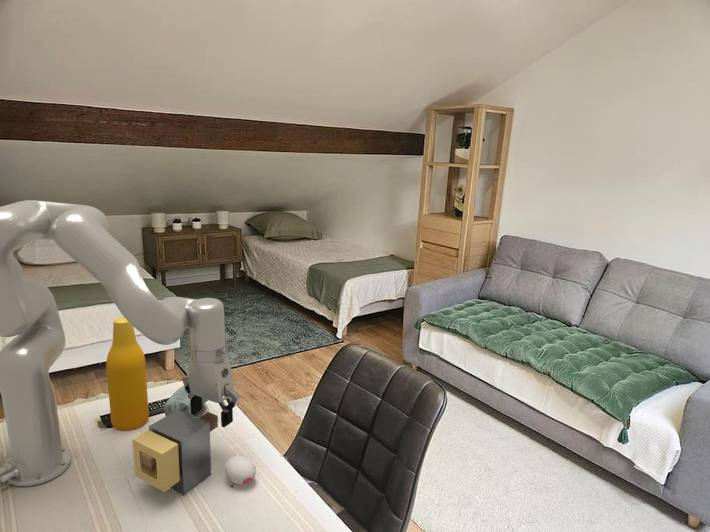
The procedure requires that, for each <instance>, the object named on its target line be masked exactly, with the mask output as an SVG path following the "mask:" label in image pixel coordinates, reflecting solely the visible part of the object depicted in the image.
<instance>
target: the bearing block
mask: <svg viewBox="0 0 710 532" xmlns="http://www.w3.org/2000/svg"><path fill="white" fill-rule="evenodd" d="M148 430H149V431H151V432H154V433H156V434H158V435H160V436H162V437H164V438H166V439H168V440H171V441H173V442H175V443H177V444H178V454H179V475H180V481H179V482H177V483H176V484H175V485H173V486H172V487H171V488H169V490H172V491H174V492H176V493H178V494H180V495H182V496H183V497H185V496H186V495H188V494H189V493H190V492H191V491H193V490H194V489H195V488H196V487H197V486H199V485H200V484H201V483H203V482H204V481H205V480H206V479H208V478H210V476H212V462H211V460H212V459H211V458H212V456H211V451H212V450H211V432H210V423H208V422H206V421H204V420H201V419H199V417H197V416H195V415H194V416H192V415H189V414H187V413H185V412H182V411H180V410H176V411H174V412H173V413H171V414H169V415H167V416H164V417H162V418H161V419H158V420H157V421H156V422H153V423H152V424H150V425H148Z"/></svg>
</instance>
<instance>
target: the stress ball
mask: <svg viewBox="0 0 710 532" xmlns="http://www.w3.org/2000/svg"><path fill="white" fill-rule="evenodd" d="M224 473H225V476H226V477H227V478H228V479H229V481H231V482H232V484H231V485H229V487H230V488H232V489H234V484H237V485H247V484H249V483H251V482H252V481H254V479H255V477H256V475H257V469H256V466H255V464H254V463H253V461H252V460H251V459H249V458H248V457H245V456H241V455H236V456H235V455H233V456H232V457H230V458H228V459H227V460H226V462H225V464H224Z"/></svg>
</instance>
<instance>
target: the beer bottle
mask: <svg viewBox="0 0 710 532" xmlns="http://www.w3.org/2000/svg"><path fill="white" fill-rule="evenodd" d="M112 331H113V332H112V344H111V346H110V348H109V351H108V353H107V356H106V362H105V363H106V364H105V367H106V375H107V376H106V377H107V386H108V388H107V389H108V400H109V410H110V411H109V412H110V422H111V425H112V427H113V428H114V429H115V430H118V431H125V432H127V431H132V430H136V429H139V428H141V427H143V426H144V425H145V424H146V423H147V422H148V420H149V417H150V412H149V411H150V410H149V401H148V400H149V398H148V385H147V383H148V381H147V371H146V370H147V369H146V368H147V367H146V357H145V353H144V350H143V349H142V347H141V346H140V344H139V343H138V341H137V339H136V333H135V327H134V326H133V325H132V324H130V323H129V322H128V321H127V319H126V318H125V317H124V316H122V317H118V318H117V317H116V318H115V319H114V320H113V329H112Z"/></svg>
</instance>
